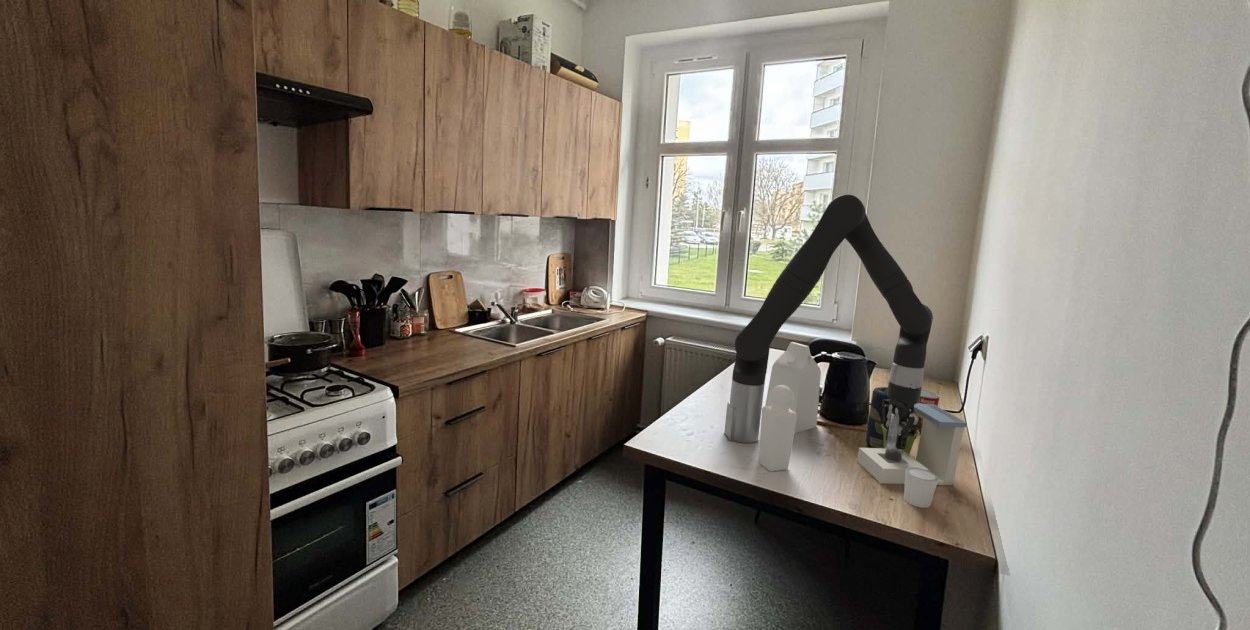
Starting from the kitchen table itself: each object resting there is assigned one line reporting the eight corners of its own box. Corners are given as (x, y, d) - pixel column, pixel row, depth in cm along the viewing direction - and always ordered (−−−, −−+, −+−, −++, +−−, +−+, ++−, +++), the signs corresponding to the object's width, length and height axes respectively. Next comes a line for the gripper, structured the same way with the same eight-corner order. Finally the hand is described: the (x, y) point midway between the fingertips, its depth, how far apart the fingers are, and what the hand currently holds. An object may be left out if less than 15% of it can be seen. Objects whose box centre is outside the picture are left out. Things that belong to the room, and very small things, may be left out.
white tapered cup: (902, 504, 124) (907, 476, 122) (899, 491, 130) (903, 464, 129) (936, 512, 121) (941, 483, 120) (930, 498, 128) (935, 471, 126)
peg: (889, 461, 137) (897, 417, 135) (881, 454, 141) (888, 411, 139) (904, 461, 137) (912, 417, 135) (895, 454, 141) (903, 412, 139)
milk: (816, 426, 168) (827, 347, 163) (793, 433, 162) (804, 350, 157) (785, 414, 178) (795, 338, 173) (762, 419, 171) (772, 341, 167)
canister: (898, 456, 150) (909, 396, 146) (862, 447, 154) (872, 388, 151) (900, 445, 158) (911, 387, 154) (866, 436, 162) (875, 380, 159)
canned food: (901, 427, 173) (907, 392, 170) (911, 422, 178) (917, 388, 176) (927, 435, 167) (934, 399, 165) (936, 430, 172) (943, 395, 170)
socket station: (881, 484, 133) (892, 420, 130) (856, 460, 146) (865, 401, 142) (954, 486, 134) (966, 422, 131) (922, 462, 147) (933, 404, 144)
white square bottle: (775, 459, 143) (785, 380, 139) (791, 470, 137) (801, 389, 133) (755, 461, 141) (764, 382, 137) (769, 473, 135) (780, 390, 131)
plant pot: (904, 468, 143) (909, 438, 141) (870, 454, 150) (875, 425, 149) (920, 460, 148) (925, 431, 147) (887, 447, 156) (892, 419, 154)
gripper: (876, 372, 142) (867, 433, 145) (908, 390, 128) (896, 456, 131) (903, 374, 142) (893, 434, 146) (937, 391, 128) (925, 457, 132)
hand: (895, 444), depth 138 cm, fingers closed on peg, 4 cm apart
